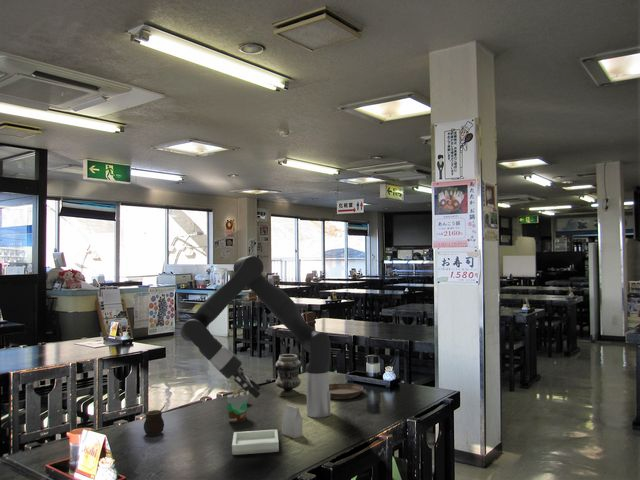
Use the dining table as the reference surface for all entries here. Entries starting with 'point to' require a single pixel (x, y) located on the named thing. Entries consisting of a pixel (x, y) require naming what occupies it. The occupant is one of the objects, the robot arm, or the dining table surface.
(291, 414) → the tea bag
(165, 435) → the dining table surface
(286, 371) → the apothecary jar
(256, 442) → the tray
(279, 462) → the dining table surface
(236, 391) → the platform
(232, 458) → the dining table surface
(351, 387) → the plant saucer
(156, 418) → the mate gourd
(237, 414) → the food container
